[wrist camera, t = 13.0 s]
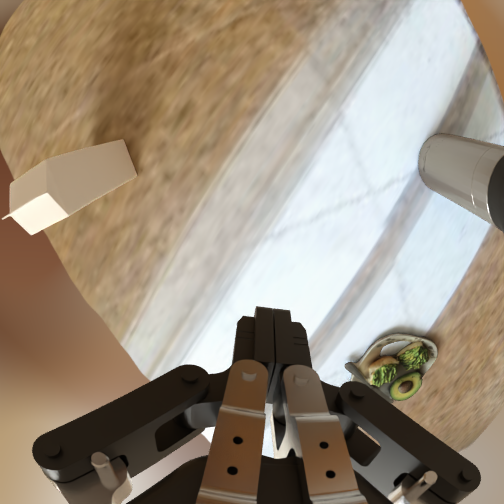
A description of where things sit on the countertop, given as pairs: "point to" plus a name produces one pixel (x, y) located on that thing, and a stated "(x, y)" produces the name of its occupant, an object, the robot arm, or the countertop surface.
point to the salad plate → (395, 367)
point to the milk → (68, 184)
